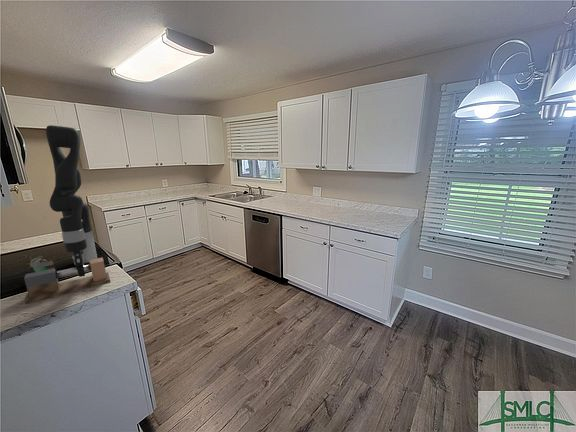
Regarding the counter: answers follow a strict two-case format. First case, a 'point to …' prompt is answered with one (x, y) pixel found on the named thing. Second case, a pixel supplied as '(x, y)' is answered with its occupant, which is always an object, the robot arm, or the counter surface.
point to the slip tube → (71, 271)
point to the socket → (98, 269)
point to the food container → (41, 264)
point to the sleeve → (40, 277)
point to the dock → (61, 288)
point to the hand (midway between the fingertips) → (82, 274)
